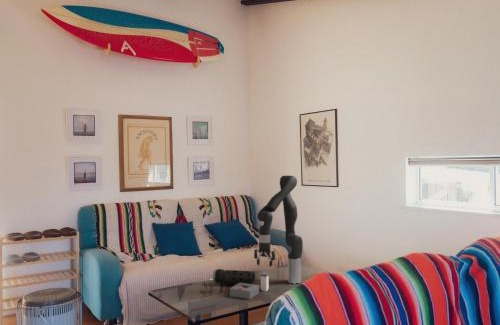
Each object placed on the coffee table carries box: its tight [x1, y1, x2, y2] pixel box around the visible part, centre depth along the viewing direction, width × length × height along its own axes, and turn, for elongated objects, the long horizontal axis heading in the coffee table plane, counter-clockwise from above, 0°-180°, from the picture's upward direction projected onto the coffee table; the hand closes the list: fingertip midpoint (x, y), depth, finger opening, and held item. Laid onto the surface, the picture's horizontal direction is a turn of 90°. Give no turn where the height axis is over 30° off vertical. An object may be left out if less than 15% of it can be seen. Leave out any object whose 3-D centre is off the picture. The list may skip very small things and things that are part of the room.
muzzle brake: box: [212, 268, 256, 286], centre depth 300 cm, size 10×28×10 cm, turn 78°
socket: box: [229, 283, 260, 300], centre depth 278 cm, size 14×14×6 cm
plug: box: [260, 272, 270, 292], centre depth 288 cm, size 4×4×11 cm
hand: (264, 265), depth 287 cm, fingers open, 8 cm apart
